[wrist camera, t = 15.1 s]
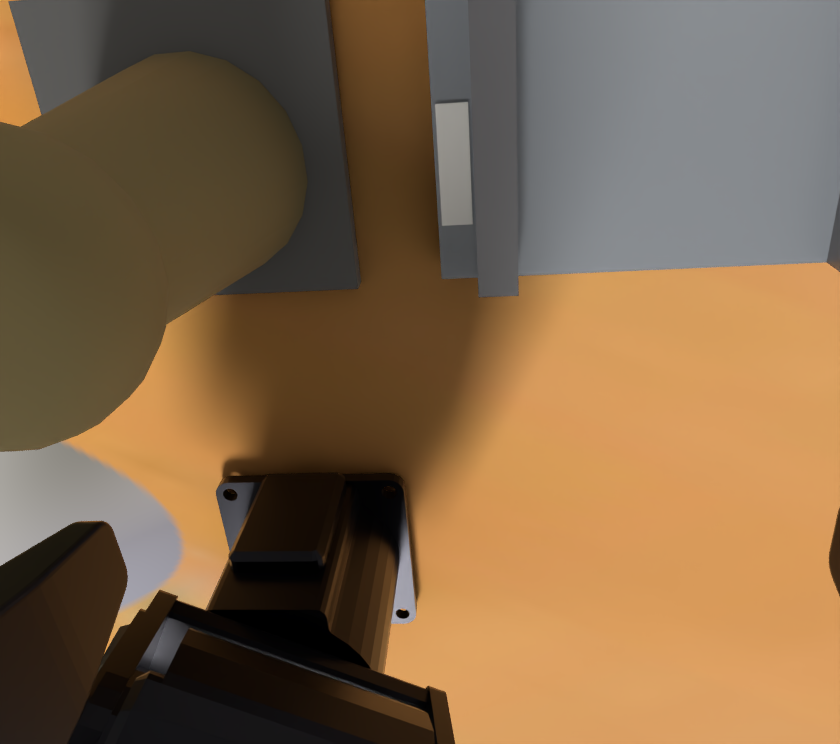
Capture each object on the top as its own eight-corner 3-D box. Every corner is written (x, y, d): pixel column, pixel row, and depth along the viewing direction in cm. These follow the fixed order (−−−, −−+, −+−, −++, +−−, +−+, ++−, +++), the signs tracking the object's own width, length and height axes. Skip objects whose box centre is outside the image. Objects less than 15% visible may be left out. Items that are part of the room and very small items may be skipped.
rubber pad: (361, 282, 21) (358, 288, 21) (105, 292, 22) (95, 300, 21) (326, -25, 18) (321, -26, 17) (22, 1, 18) (8, 1, 18)
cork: (186, 312, 21) (-59, 567, 12) (42, 133, 19) (-406, 261, 10) (350, 209, 20) (225, 410, 10) (212, -1, 17) (-123, -10, 8)
